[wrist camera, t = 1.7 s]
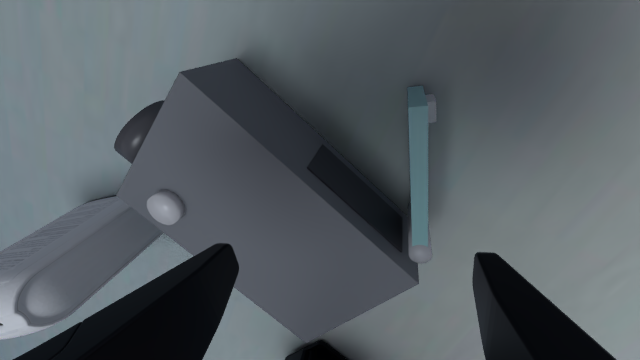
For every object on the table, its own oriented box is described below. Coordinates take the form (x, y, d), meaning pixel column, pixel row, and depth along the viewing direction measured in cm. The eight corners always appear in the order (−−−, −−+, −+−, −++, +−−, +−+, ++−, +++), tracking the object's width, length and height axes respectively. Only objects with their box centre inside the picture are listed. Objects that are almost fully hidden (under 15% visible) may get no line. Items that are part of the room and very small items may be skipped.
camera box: (416, 223, 21) (420, 293, 15) (323, 283, 26) (303, 352, 20) (215, 36, 18) (137, 44, 13) (155, 145, 23) (82, 182, 18)
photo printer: (103, 236, 30) (-56, 352, 20) (78, 200, 29) (-111, 307, 18) (181, 226, 27) (36, 360, 16) (157, 184, 25) (-22, 305, 15)
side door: (430, 215, 20) (437, 264, 16) (407, 215, 20) (409, 262, 16) (431, 84, 16) (439, 105, 12) (403, 87, 17) (403, 108, 13)
